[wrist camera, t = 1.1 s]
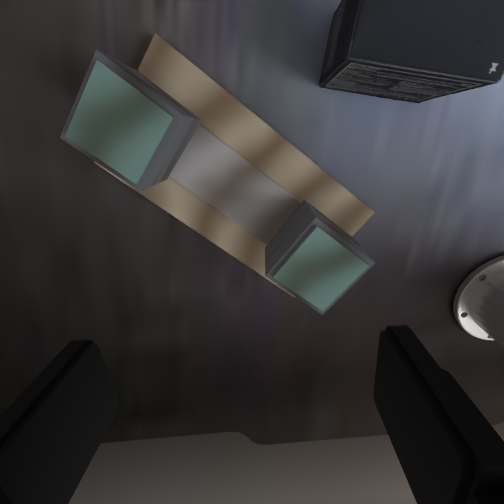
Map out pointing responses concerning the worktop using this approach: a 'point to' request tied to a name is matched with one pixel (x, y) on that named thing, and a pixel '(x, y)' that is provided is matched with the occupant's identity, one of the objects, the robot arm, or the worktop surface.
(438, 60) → the small box
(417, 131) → the worktop surface
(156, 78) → the rail board
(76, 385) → the robot arm
